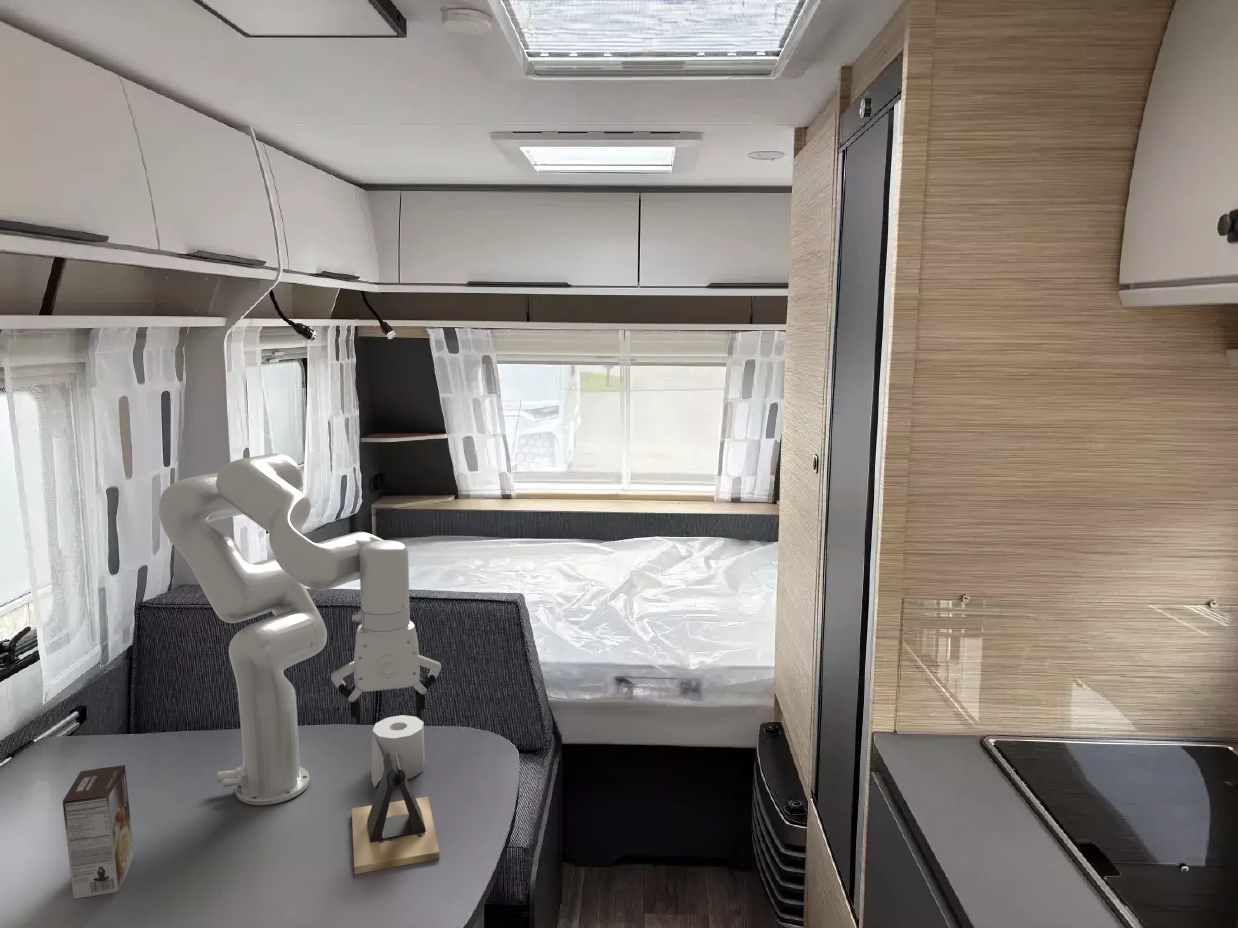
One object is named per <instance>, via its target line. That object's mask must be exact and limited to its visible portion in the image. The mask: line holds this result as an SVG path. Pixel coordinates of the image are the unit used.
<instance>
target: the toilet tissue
mask: <svg viewBox="0 0 1238 928" xmlns="http://www.w3.org/2000/svg"><path fill="white" fill-rule="evenodd" d="M424 725H425V724H424V721H423V720H421V719H420V718H419V717H417V716H413V715H403V714H402V715H395V716H394V715H393V716H390V717H386V718H383V719H382V720H380V721H378V722H376V723H375V724H374V727H373V729H372V733H371V734H372V735H371V736H372V737H371V738H372V739H371V740H372V742H371V743H372V745H371V783H372V786H373V789H374V788H376V787H377V785H379V784H378V783H380V781H381V778H382V775H383V772H384V764H383V759H384V757H385V756H386V755H387V754H388V753H389V754H390V758H391V762H392V767H393V768H394V767H396V766H397V763H396V759H395V754H394V753H395V752H397V753H398V754H400V756H401V759H402V763H403V767H404V771H405V776H406V779H407V780H409V779H413V778H414V776H415V777H416V776H418V775H419V774H421V773H423V771H424V769H425V764H426V759H425V754H426V753H425V728H424Z"/></svg>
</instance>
